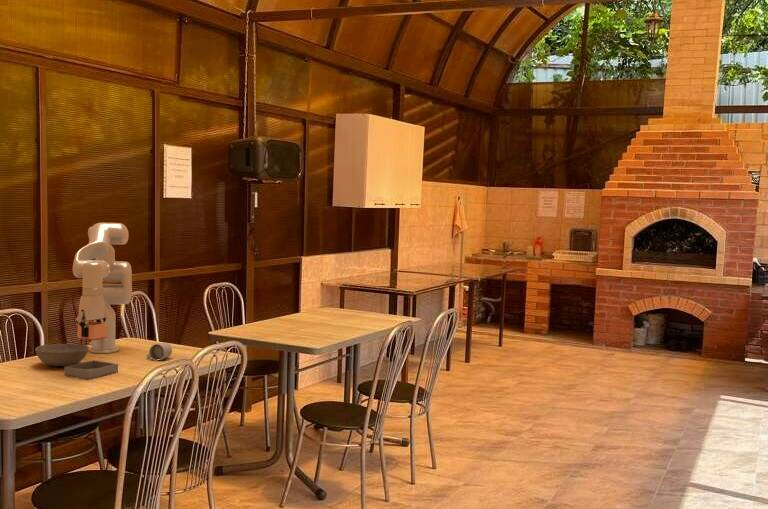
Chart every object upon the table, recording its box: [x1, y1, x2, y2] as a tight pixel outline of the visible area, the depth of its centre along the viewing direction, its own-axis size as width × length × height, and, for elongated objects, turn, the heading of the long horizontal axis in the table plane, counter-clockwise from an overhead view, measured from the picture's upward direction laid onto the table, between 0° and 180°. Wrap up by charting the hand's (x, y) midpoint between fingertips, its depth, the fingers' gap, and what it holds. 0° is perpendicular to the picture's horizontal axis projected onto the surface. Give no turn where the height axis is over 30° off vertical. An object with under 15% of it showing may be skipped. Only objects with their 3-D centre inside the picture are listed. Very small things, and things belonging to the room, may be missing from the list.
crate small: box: [76, 320, 107, 341], centre depth 305 cm, size 9×7×6 cm
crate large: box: [63, 359, 119, 380], centre depth 305 cm, size 13×15×4 cm
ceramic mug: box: [146, 342, 173, 361], centre depth 338 cm, size 11×8×8 cm
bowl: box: [34, 343, 90, 367], centre depth 319 cm, size 21×21×8 cm
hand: (92, 335), depth 305 cm, fingers closed on crate small, 7 cm apart
